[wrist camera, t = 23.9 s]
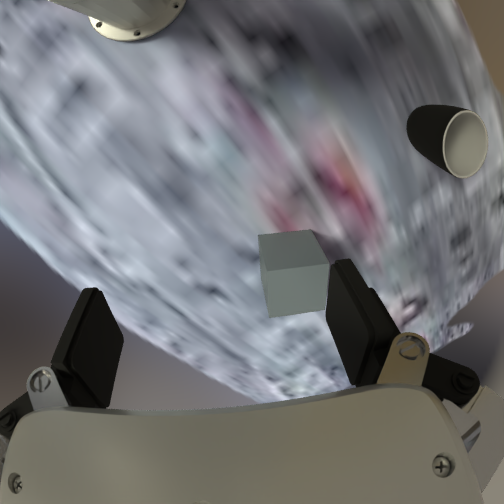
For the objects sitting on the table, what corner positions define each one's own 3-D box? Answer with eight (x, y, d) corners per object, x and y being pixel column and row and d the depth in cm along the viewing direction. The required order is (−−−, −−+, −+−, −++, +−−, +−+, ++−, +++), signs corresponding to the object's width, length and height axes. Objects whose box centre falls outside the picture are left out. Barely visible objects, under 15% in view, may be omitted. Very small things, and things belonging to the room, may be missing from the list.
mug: (408, 164, 39) (449, 189, 30) (390, 109, 34) (435, 122, 26) (460, 138, 36) (503, 157, 28) (447, 86, 32) (494, 96, 23)
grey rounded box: (258, 235, 42) (266, 271, 35) (310, 229, 43) (329, 263, 35) (261, 278, 47) (269, 317, 39) (309, 272, 47) (324, 309, 40)
